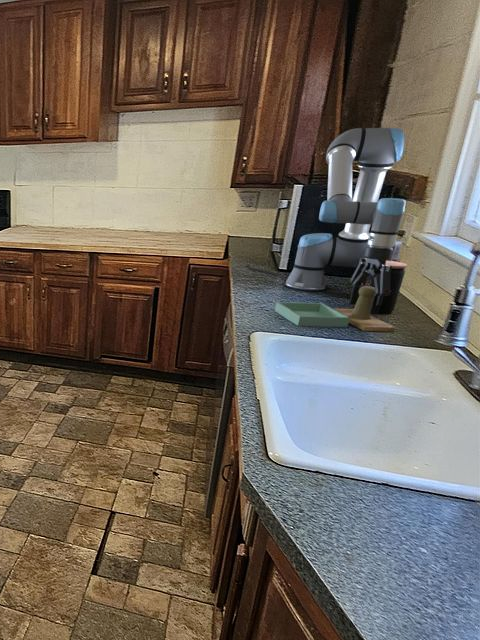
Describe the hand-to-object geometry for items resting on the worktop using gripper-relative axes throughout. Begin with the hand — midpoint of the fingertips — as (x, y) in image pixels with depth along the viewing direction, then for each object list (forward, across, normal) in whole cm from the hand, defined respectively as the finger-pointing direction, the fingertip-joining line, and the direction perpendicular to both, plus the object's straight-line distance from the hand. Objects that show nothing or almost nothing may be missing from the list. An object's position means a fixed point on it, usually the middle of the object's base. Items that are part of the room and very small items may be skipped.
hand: (362, 309), depth 185 cm
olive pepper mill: (+3, 0, 0) cm, 3 cm away
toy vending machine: (+5, -31, +22) cm, 39 cm away
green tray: (+4, -2, -16) cm, 17 cm away
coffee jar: (+5, -15, +14) cm, 21 cm away
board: (+4, 0, 0) cm, 4 cm away
